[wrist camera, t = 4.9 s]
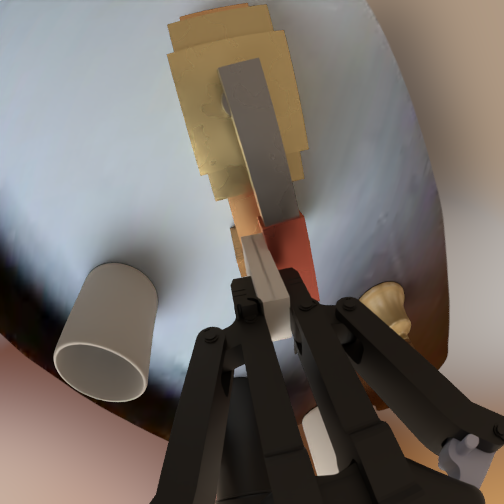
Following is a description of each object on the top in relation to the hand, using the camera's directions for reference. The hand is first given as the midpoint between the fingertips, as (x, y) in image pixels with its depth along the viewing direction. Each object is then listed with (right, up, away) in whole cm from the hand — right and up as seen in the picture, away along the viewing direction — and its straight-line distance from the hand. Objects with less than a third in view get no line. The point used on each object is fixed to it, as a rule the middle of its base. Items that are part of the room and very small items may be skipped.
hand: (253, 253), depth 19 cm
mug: (-16, -5, +11) cm, 20 cm away
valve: (-1, +10, +4) cm, 11 cm away
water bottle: (-2, -21, +22) cm, 31 cm away
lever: (+1, +4, -1) cm, 5 cm away
